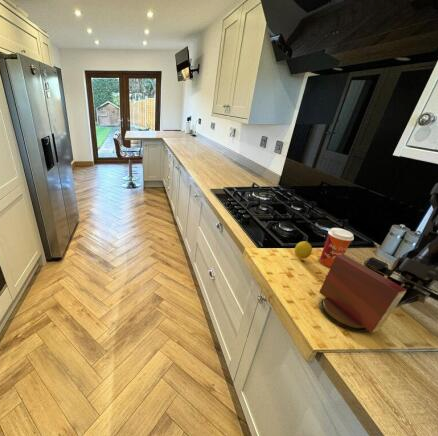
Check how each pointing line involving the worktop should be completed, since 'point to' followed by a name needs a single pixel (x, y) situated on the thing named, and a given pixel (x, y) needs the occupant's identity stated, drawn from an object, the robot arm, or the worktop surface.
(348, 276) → the book stand
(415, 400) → the worktop surface
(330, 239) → the paper cup
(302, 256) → the lemon
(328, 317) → the turntable base
